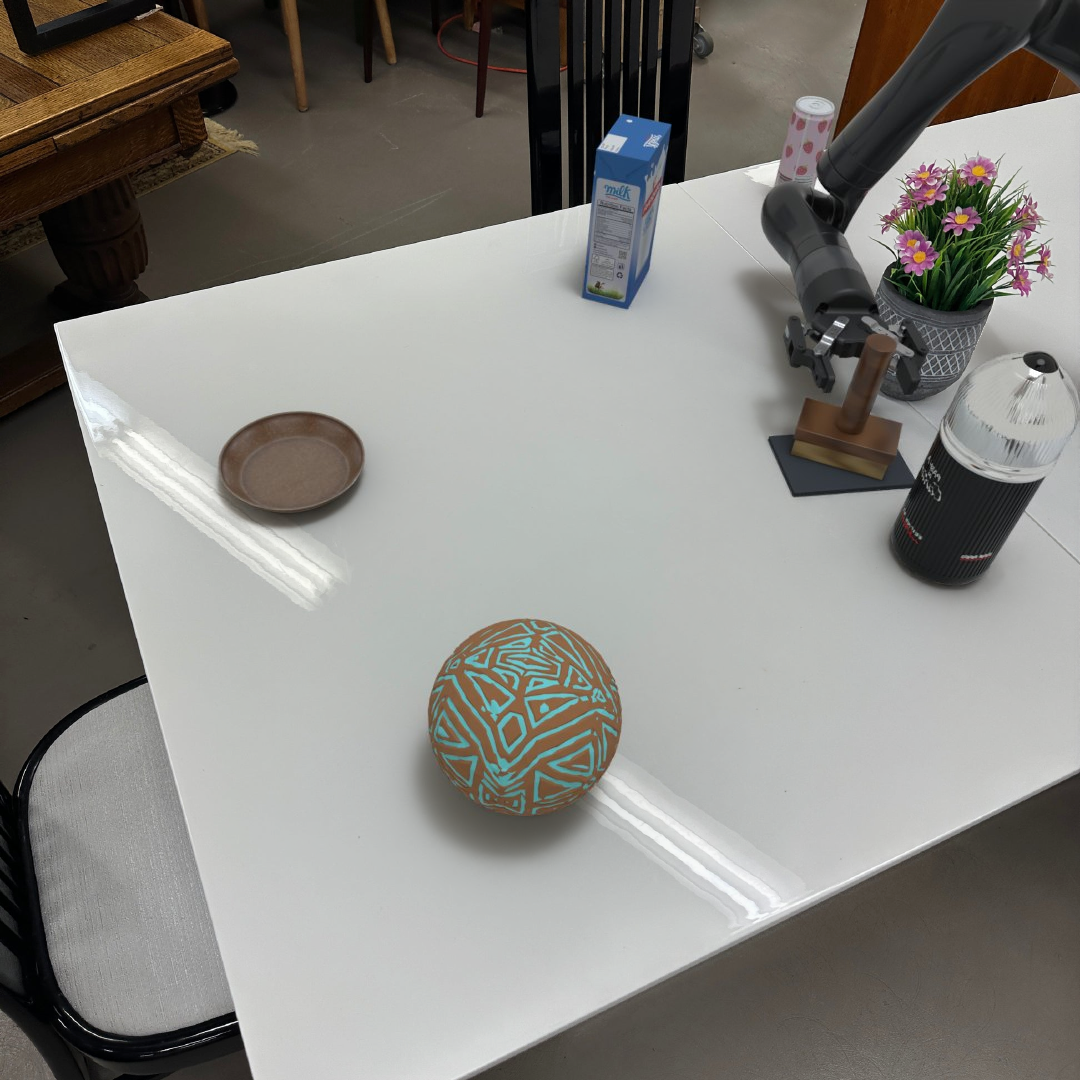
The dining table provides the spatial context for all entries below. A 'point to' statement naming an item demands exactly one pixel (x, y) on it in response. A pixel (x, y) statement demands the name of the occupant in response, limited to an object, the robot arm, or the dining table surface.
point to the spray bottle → (985, 465)
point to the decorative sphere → (524, 717)
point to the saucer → (291, 461)
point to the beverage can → (805, 140)
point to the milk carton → (624, 209)
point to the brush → (853, 419)
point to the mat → (832, 473)
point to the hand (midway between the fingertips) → (871, 387)
